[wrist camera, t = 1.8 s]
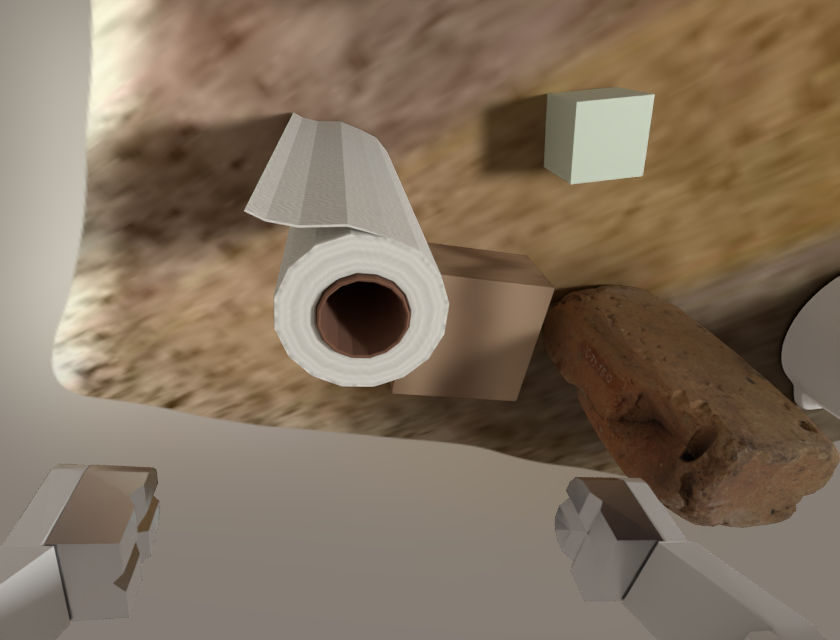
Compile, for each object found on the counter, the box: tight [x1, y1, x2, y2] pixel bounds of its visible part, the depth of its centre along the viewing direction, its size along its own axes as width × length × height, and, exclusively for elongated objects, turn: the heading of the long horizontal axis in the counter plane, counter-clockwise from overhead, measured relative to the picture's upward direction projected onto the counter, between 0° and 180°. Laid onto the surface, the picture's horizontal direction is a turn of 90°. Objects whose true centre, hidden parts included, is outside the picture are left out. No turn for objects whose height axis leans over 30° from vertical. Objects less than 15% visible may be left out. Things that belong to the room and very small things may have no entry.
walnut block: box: [390, 243, 555, 401], centre depth 40 cm, size 10×10×6 cm
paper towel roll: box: [244, 112, 449, 387], centre depth 26 cm, size 7×6×21 cm
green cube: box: [544, 87, 655, 184], centre depth 35 cm, size 5×5×5 cm
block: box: [543, 285, 840, 528], centre depth 36 cm, size 11×8×20 cm
